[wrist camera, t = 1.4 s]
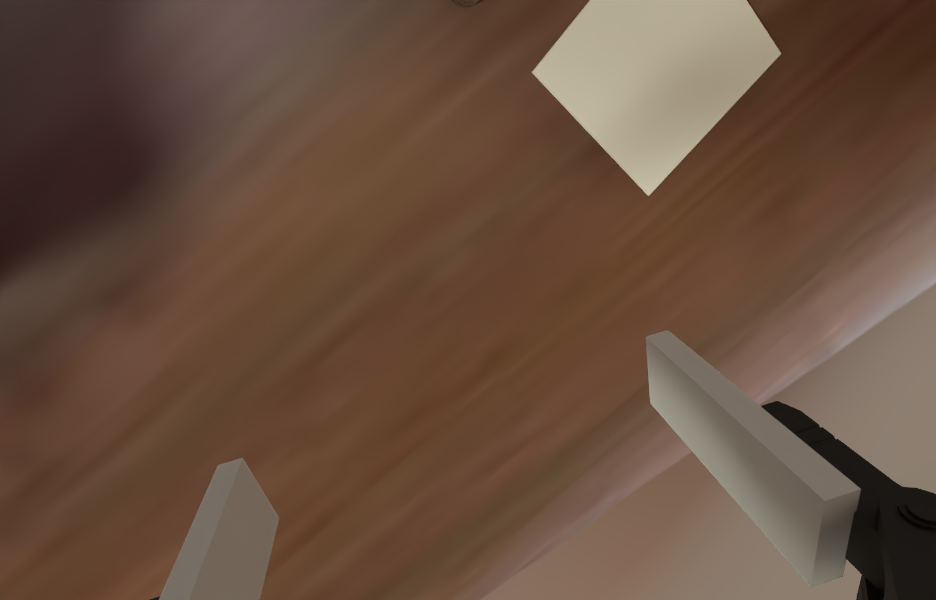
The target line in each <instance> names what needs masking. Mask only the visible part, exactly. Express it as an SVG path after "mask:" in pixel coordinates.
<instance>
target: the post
mask: <svg viewBox="0 0 936 600" xmlns="http://www.w3.org/2000/svg"><path fill="white" fill-rule="evenodd" d="M453 1H454V2H455V3H456V4H457V5H459V6H462V7H470V6H473V5H475V4H476V3H477V2H478V1H479V0H453Z"/></svg>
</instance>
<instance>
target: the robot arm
mask: <svg viewBox="0 0 936 600" xmlns="http://www.w3.org/2000/svg"><path fill="white" fill-rule="evenodd" d="M646 348H647V362H648V377H649V391H650V403H651V405H652V406H653V407H654V408H655V409H656V410H657V411H658V413H659V414H660V415H661V416H662V417H663V418H664V419H665V421H666V422H667V423H668V424H669V425H670V426H671V427H672V429H673V430H674V431H675V432H676V433H677V434H678V436H679V437H680V438H681V439H682V440H683V441H684V442H685V444H686V445H687V446H688V447H689V448H690V449H691V450H692V452H693V453H694V454H695V455H696V456H697V457H698V458H699V460H700V461H701V462H702V463H703V464H704V465H705V467H706V468H707V469H708V470H709V471H710V472H711V473H712V475H714V477H715V478H716V479H717V480H718V481H719V482H720V484H721V485H722V486H723V487H724V488H725V490H726V491H727V492H728V493H729V494H730V495H731V496H732V497H733V499H734V500H735V501H736V502H737V503H738V504H739V506H740V507H741V508H742V509H743V510H744V511H745V512H746V514H747V515H748V516H749V517H750V518H751V519H752V521H753V522H754V523H755V524H756V525H757V526H758V527H759V529H760V530H761V531H762V532H763V533H764V534H765V535H766V537H767V538H768V539H769V540H770V541H771V542H772V543H773V545H774V546H775V547H776V548H777V549H778V550H779V552H780V553H781V554H782V555H783V556H784V557H785V558H786V559H787V561H788V562H789V563H790V564H791V565H792V566H793V568H794V569H795V570H796V571H797V572H798V573H799V575H800V576H801V577H802V578H803V579H804V580H805V581H806V583H807V584H808V585H809V586H810V587H814V586H816V585H819V584H822V583H825V582H828V581H831V580H834V579H837V578H840V577H843V573H844V568H845V564H846V559H847V560H848V561H849V562H850V563H851V564H852V565H853V566H855V568H856V569H857V570H858V571H859V572H860V573H861V574H862V577H861V581H860V585H859V589H858V593H857V599H856V600H936V494H934V493H931V492H928V491H925V490H921V489H918V488H909V487H902V486H900V485H899V484H897V483H896V482H894V481H893V480H891V479H890V478H889V477H887V476H886V475H885V474H883V473H882V472H881V471H879V470H878V469H877V468H875V467H874V466H873V465H872V464H870V463H869V462H868V461H866V460H865V459H864V458H862V457H861V456H860V455H858V454H857V453H856V452H854V451H853V450H852V449H850V448H849V447H848V446H846V445H845V444H844V443H842V442H841V441H840V440H838V439H835V438H834V436H833V435H832V434H831V433H829V432H828V431H827V430H825V429H824V428H820V427H819V425H818V424H817V423H816V422H815V421H813V420H812V419H811V418H809V417H808V416H807V415H805V414H804V413H803V412H801V411H800V410H797V409H795V408H793V407H790V406H788V405H786V404H783V403H781V402H779V401H776V402H772V403H769V404H766V405H763V406H760V405H758V404H757V403H756V402H755V401H754V400H752V399H751V398H750V397H749V396H747V395H746V394H745V393H744V392H743V391H741V390H740V389H739V388H738V387H737V386H735V385H734V384H733V383H732V382H730V381H729V380H728V379H727V378H726V377H724V376H723V375H722V374H721V373H720V372H718V371H717V370H716V369H715V368H713V367H712V366H711V365H710V364H709V363H707V362H706V361H705V360H704V359H703V358H701V357H700V356H699V355H698V354H696V353H695V352H694V351H693V350H692V349H690V348H689V347H688V346H687V345H685V344H684V343H683V342H682V341H681V340H679V339H678V338H677V337H676V336H675V335H673V334H672V333H671V332H670V331H668V330H667V331H663V332H660V333H657V334H653V335H650V336H647V337H646ZM278 521H279V517H278V515H277V514H276V512H275V510H274V509H273V507H272V505H271V504H270V502H269V501H268V499H267V497H266V496H265V494H264V492H263V491H262V489H261V487H260V486H259V484H258V482H257V481H256V479H255V477H254V476H253V474H252V472H251V471H250V469H249V467H248V466H247V464H246V463H245V461H244V459H243V458H241V459H237V460H234V461H231V462H227V463H224V464H221V465H218V466H217V468H216V471H215V473H214V475H213V478H212V480H211V482H210V484H209V487H208V489H207V491H206V493H205V496H204V498H203V500H202V503H201V505H200V507H199V509H198V512H197V514H196V516H195V519H194V521H193V523H192V525H191V528H190V530H189V532H188V535H187V537H186V539H185V541H184V544H183V546H182V548H181V550H180V553H179V555H178V557H177V560H176V562H175V564H174V566H173V569H172V571H171V573H170V576H169V578H168V580H167V582H166V585H165V587H164V589H163V592H162V594H161V596H160V597H156V598H153V599H150V600H260V596H261V592H262V588H263V584H264V579H265V575H266V571H267V567H268V563H269V559H270V554H271V550H272V546H273V542H274V538H275V534H276V529H277V525H278Z"/></svg>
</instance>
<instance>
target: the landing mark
mask: <svg viewBox="0 0 936 600" xmlns="http://www.w3.org/2000/svg"><path fill="white" fill-rule="evenodd" d="M780 55H781V52H780V51H779V49H778V48H777V46H776V45H775V43H774V42H773V40H772V39H771V37H770V36H769V34H768V32H767V31H766V29H765V28H764V26H763V25H762V23H761V22H760V20H759V19H758V17H757V16H756V14H755V12H754V11H753V9H752V8H751V6H750V5H749V3H748V2H747V0H589V2H588V3H587V4H586V5H585V7H584V8H583V9H582V10H581V12H580V13H579V14H578V15H577V17H576V18H575V19H574V20H573V21H572V23H571V24H570V25H569V26H568V28H567V29H566V30H565V31H564V33H563V34H562V35H561V36H560V38H559V39H558V40H557V41H556V43H555V44H554V45H553V46H552V48H551V49H550V50H549V51H548V52H547V54H546V55H545V56H544V57H543V59H542V60H541V61H540V62H539V64H538V65H537V66H536V67H535V69H534V70H533V71H532V73H533V74H534V76H535V77H536V78H537V79H538V80H539V81H540V82H541V83H542V84H543V85H544V86H545V87H546V88H547V89H548V90H549V91H550V92H551V94H552V95H553V96H554V97H555V98H556V99H557V100H558V101H559V102H560V103H561V104H562V105H563V106H564V107H565V108H566V109H567V111H568V112H569V113H570V114H571V115H572V116H573V117H574V118H575V119H576V120H577V121H578V122H579V123H580V124H581V125H582V126H583V128H584V129H585V130H586V131H587V132H588V133H589V134H590V135H591V136H592V137H593V138H594V139H595V140H596V141H597V142H598V143H599V144H600V146H601V147H602V148H603V149H604V150H605V151H606V152H607V153H608V154H609V155H610V156H611V157H612V158H613V159H614V160H615V161H616V163H617V164H618V165H619V166H620V167H621V168H622V169H623V170H624V171H625V172H626V173H627V174H628V175H629V176H630V177H631V178H632V179H633V181H634V182H635V183H636V184H637V185H638V186H639V187H640V188H641V189H642V190H643V191H644V192H645V193H646V194H647V195H648V196H649V195H650V194H651V193H652V192H653V191H654V190H655V189H656V188H657V186H658V185H659V184H660V183H661V182H662V181H663V180H664V179H665V178H666V177H667V176H668V175H669V174H670V172H671V171H672V170H673V169H674V168H675V167H676V166H677V165H678V164H679V163H680V162H681V161H682V160H683V159H684V157H685V156H686V155H687V154H688V153H689V152H690V151H691V150H692V149H693V148H694V147H695V146H696V145H697V144H698V142H699V141H700V140H701V139H702V138H703V137H704V136H705V135H706V134H707V133H708V132H709V131H710V130H711V129H712V127H713V126H714V125H715V124H716V123H717V122H718V121H719V120H720V119H721V118H722V117H723V116H724V115H725V114H726V112H727V111H728V110H729V109H730V108H731V107H732V106H733V105H734V104H735V103H736V102H737V101H738V100H739V98H740V97H741V96H742V95H743V94H744V93H745V92H746V91H747V90H748V89H749V88H750V87H751V86H752V85H753V83H754V82H755V81H756V80H757V79H758V78H759V77H760V76H761V75H762V74H763V73H764V72H765V71H766V70H767V68H768V67H769V66H770V65H771V64H772V63H773V62H774V61H775V60H776V59H777V58H778V57H779V56H780Z"/></svg>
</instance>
